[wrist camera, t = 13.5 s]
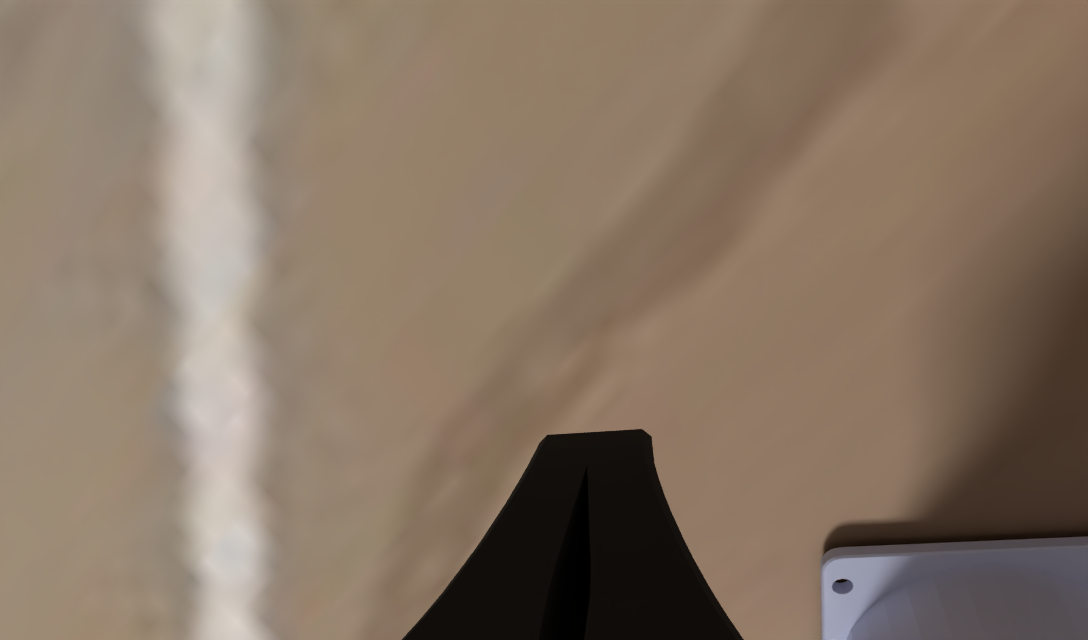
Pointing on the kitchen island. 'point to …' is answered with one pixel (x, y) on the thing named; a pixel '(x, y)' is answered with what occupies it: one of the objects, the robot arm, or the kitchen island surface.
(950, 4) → the kitchen island surface
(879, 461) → the kitchen island surface
